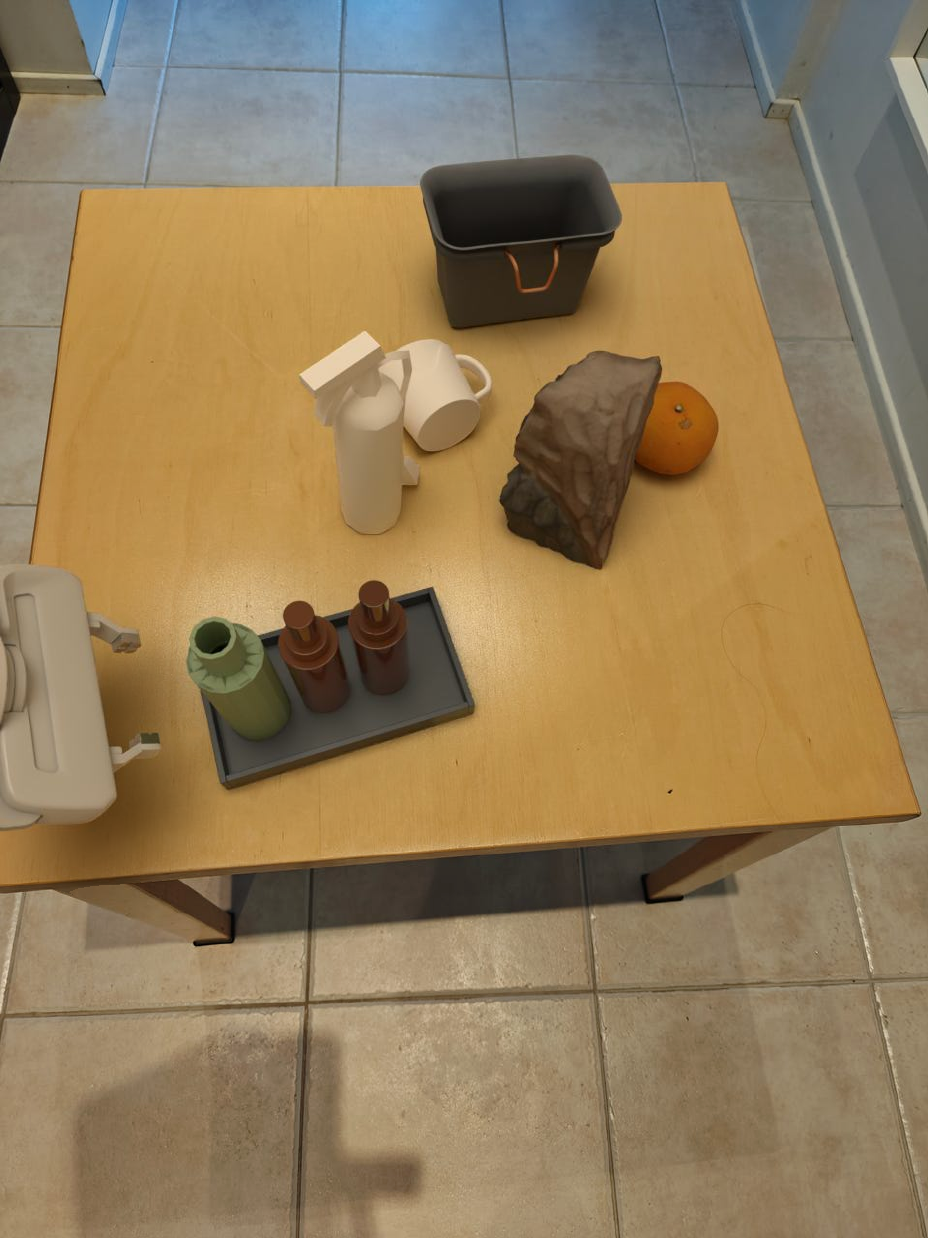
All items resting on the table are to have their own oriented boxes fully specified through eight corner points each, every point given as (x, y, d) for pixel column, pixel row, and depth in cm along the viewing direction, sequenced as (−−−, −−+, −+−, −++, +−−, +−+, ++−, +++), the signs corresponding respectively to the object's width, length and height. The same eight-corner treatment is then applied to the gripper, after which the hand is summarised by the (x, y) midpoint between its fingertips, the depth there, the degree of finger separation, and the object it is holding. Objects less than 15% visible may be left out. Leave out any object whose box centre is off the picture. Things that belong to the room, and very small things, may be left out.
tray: (227, 790, 73) (220, 784, 70) (200, 663, 78) (192, 653, 75) (473, 713, 77) (475, 705, 74) (432, 598, 82) (433, 586, 79)
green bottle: (234, 748, 73) (179, 685, 57) (221, 691, 76) (165, 613, 59) (297, 729, 74) (260, 661, 58) (282, 673, 77) (243, 592, 60)
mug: (411, 463, 88) (410, 418, 81) (375, 404, 92) (370, 355, 84) (503, 425, 91) (510, 378, 84) (465, 369, 94) (468, 319, 87)
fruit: (629, 494, 88) (648, 450, 81) (604, 419, 92) (619, 372, 85) (716, 480, 89) (742, 436, 82) (687, 407, 94) (709, 359, 86)
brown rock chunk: (491, 529, 85) (509, 409, 67) (536, 444, 90) (563, 311, 72) (599, 574, 84) (647, 463, 65) (638, 485, 89) (693, 359, 70)
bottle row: (306, 720, 75) (273, 652, 59) (293, 673, 77) (259, 595, 61) (416, 687, 77) (413, 612, 61) (401, 642, 79) (395, 558, 63)
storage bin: (574, 250, 103) (595, 146, 90) (608, 339, 97) (636, 241, 84) (416, 270, 101) (414, 166, 88) (440, 362, 95) (443, 265, 82)
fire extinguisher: (442, 498, 87) (448, 330, 64) (353, 557, 83) (326, 401, 60) (405, 458, 89) (398, 281, 66) (317, 514, 85) (277, 347, 62)
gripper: (-12, 817, 48) (190, 798, 59) (-40, 541, 56) (144, 568, 67) (-49, 850, 52) (149, 827, 62) (-70, 586, 59) (109, 605, 70)
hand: (146, 691), depth 64 cm, fingers open, 8 cm apart
